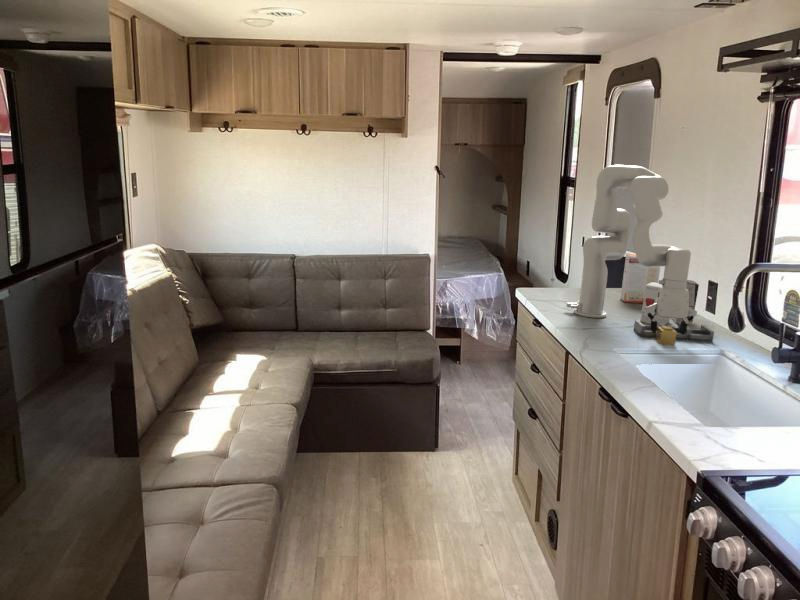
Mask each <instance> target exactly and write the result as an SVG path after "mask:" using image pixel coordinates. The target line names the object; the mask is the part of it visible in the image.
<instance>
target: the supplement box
mask: <svg viewBox="0 0 800 600" xmlns="http://www.w3.org/2000/svg"><path fill="white" fill-rule="evenodd" d="M660 287H662V285H661V284H659V282H658V283H655V282H651V283H649V284H647V285H646V287H645V294H644V300H643V303H642V307H641V313H640V319H639V321H640V322H641V323H645V324H650V325H651V319H650V318H649V317H648V316H647V313H646V311H645V307H647V306H650V305H652V304H655V303H656V299H657V295H658V292H659V289H660ZM654 309H655V308H654ZM654 309H652V310H650V312H651V314H652V315H653V314H654V313H655V312H654ZM670 319H671V318H665V317H659V318H658V319H657V320H656V322H657V321H659V322H662V323H663V324H664V325H665V326H666V325H668V323H670Z"/></svg>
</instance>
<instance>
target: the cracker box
mask: <svg viewBox="0 0 800 600" xmlns="http://www.w3.org/2000/svg"><path fill="white" fill-rule="evenodd" d="M623 268H624V270H623V277H622V284H621V285H622V286H621V292H620V300H621V301H622V302H623V303H632V304H633V303H634V304H637V303H638V304H643V300H644V294H645V287H646V285H647V284H649V283H651V282H655V283H659V280H660V279H659V278H660V272H661V266H651V267H648V266H643V265H642V264H641V263H640V262H639V261H638V259H637V257H636V254H627V253H625V262H624V267H623Z"/></svg>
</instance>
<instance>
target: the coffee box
mask: <svg viewBox="0 0 800 600" xmlns="http://www.w3.org/2000/svg"><path fill="white" fill-rule="evenodd" d="M699 287H700V285H699V283H697V282H696V281H694V280H691V279H687V284H686V289H687V290H688V291H689V307H691V308H692V309H694V310H696V303H697V297H698V293H699ZM690 314H691V312H690V311H689V310H688V316H689V315H690ZM688 316H687V317H688ZM671 319H672V320H673V321H674V322H675V324H679V323H681V322H682V319H680V318H671ZM693 321H694V318H693V319H692V320H691V321H690V322H689V323H688V324H687V325H689V326H690V325H693Z"/></svg>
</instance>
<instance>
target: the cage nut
mask: <svg viewBox="0 0 800 600" xmlns="http://www.w3.org/2000/svg"><path fill="white" fill-rule="evenodd" d="M676 333H677V332H676V331H675V330H674V329H673V328H671V326H666V325H665V326H661V327H657V332H656V338H654V340H655V342H657V343H658V345H666V346H675V344H676V340H675V339H676Z"/></svg>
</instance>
